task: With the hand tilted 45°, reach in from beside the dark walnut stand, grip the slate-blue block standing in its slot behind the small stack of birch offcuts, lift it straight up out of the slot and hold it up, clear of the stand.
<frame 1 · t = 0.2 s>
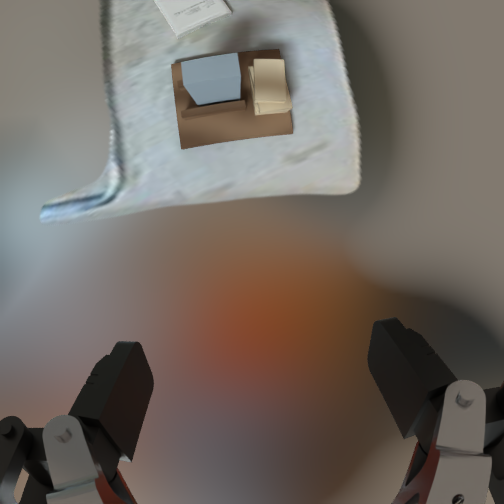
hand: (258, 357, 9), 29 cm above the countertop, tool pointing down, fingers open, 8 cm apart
birch offcut stack: (267, 90, 31), point 1 cm above the countertop, touching walnut stand
external hard drive: (187, 2, 27), on the countertop
slate-blue block: (218, 96, 31), point 1 cm above the countertop, touching walnut stand
walnut stand: (230, 96, 32), on the countertop
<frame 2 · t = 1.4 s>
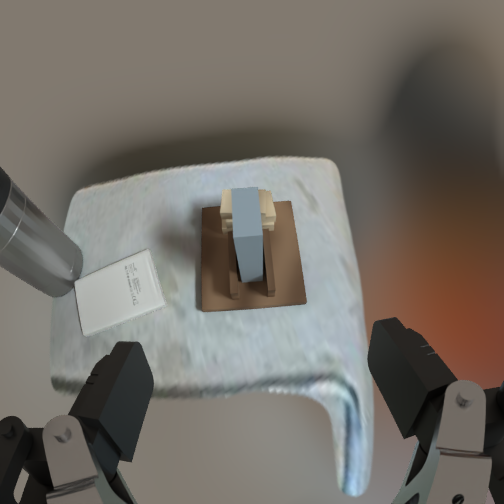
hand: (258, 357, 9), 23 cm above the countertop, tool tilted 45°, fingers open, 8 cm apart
birch offcut stack: (247, 218, 36), point 1 cm above the countertop, touching walnut stand
external hard drive: (120, 295, 34), on the countertop
slate-blue block: (250, 262, 34), point 1 cm above the countertop, touching walnut stand
walnut stand: (250, 254, 35), on the countertop
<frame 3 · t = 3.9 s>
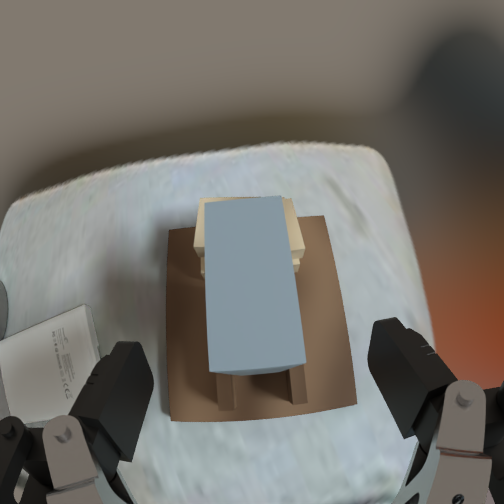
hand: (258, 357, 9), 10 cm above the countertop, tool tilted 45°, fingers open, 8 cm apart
birch offcut stack: (248, 250, 20), point 1 cm above the countertop, touching walnut stand
external hard drive: (53, 372, 18), on the countertop
slate-blue block: (256, 336, 17), point 1 cm above the countertop, touching walnut stand
walnut stand: (254, 316, 19), on the countertop
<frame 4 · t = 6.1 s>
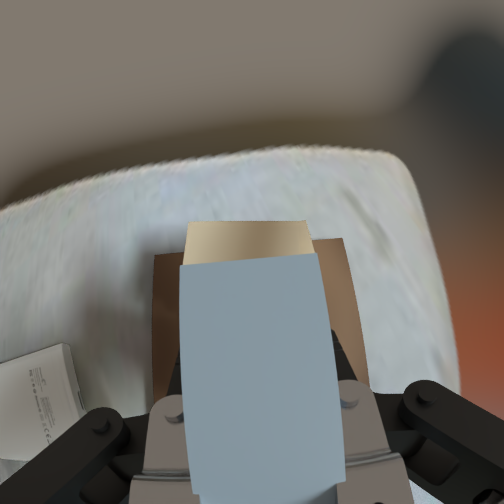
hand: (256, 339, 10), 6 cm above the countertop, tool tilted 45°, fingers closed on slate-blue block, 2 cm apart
birch offcut stack: (251, 283, 16), point 1 cm above the countertop, touching walnut stand
external hard drive: (34, 411, 14), on the countertop
slate-blue block: (262, 389, 14), point 1 cm above the countertop, touching gripper, walnut stand
walnut stand: (258, 363, 15), on the countertop
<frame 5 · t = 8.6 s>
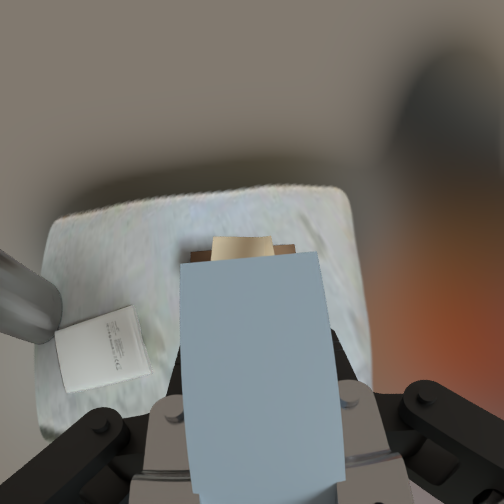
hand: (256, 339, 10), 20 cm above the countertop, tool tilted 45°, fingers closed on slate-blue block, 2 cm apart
birch offcut stack: (243, 267, 31), point 1 cm above the countertop, touching walnut stand
external hard drive: (102, 353, 29), on the countertop
slate-blue block: (262, 389, 14), point 15 cm above the countertop, touching gripper
walnut stand: (246, 310, 30), on the countertop
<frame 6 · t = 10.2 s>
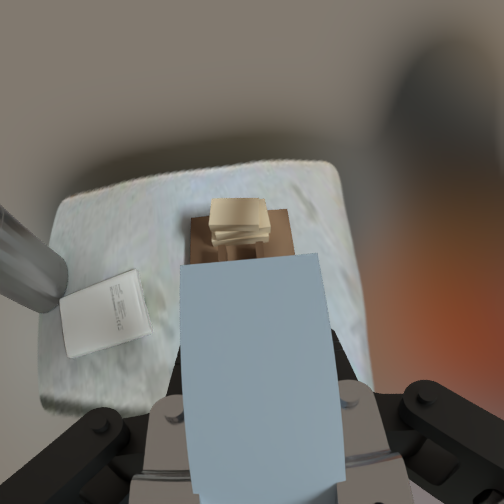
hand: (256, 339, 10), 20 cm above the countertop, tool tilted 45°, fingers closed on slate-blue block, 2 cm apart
birch offcut stack: (240, 229, 34), point 1 cm above the countertop, touching walnut stand
external hard drive: (105, 317, 31), on the countertop
slate-blue block: (262, 389, 14), point 15 cm above the countertop, touching gripper
walnut stand: (243, 268, 32), on the countertop
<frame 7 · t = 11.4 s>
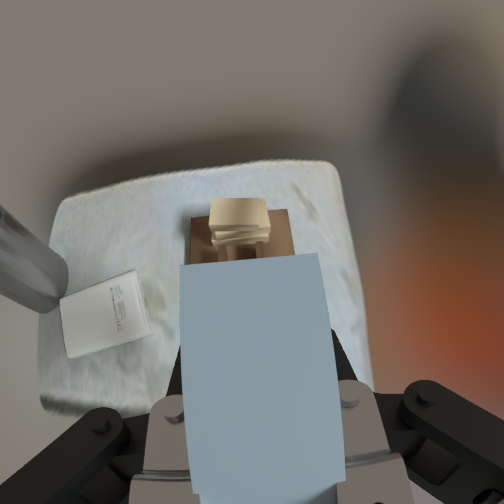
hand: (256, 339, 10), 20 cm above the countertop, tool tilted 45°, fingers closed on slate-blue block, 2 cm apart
birch offcut stack: (240, 229, 34), point 1 cm above the countertop, touching walnut stand
external hard drive: (105, 318, 31), on the countertop
slate-blue block: (262, 389, 14), point 15 cm above the countertop, touching gripper
walnut stand: (243, 268, 32), on the countertop
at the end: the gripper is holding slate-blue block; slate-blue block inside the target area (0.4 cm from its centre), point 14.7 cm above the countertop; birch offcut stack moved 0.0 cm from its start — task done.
